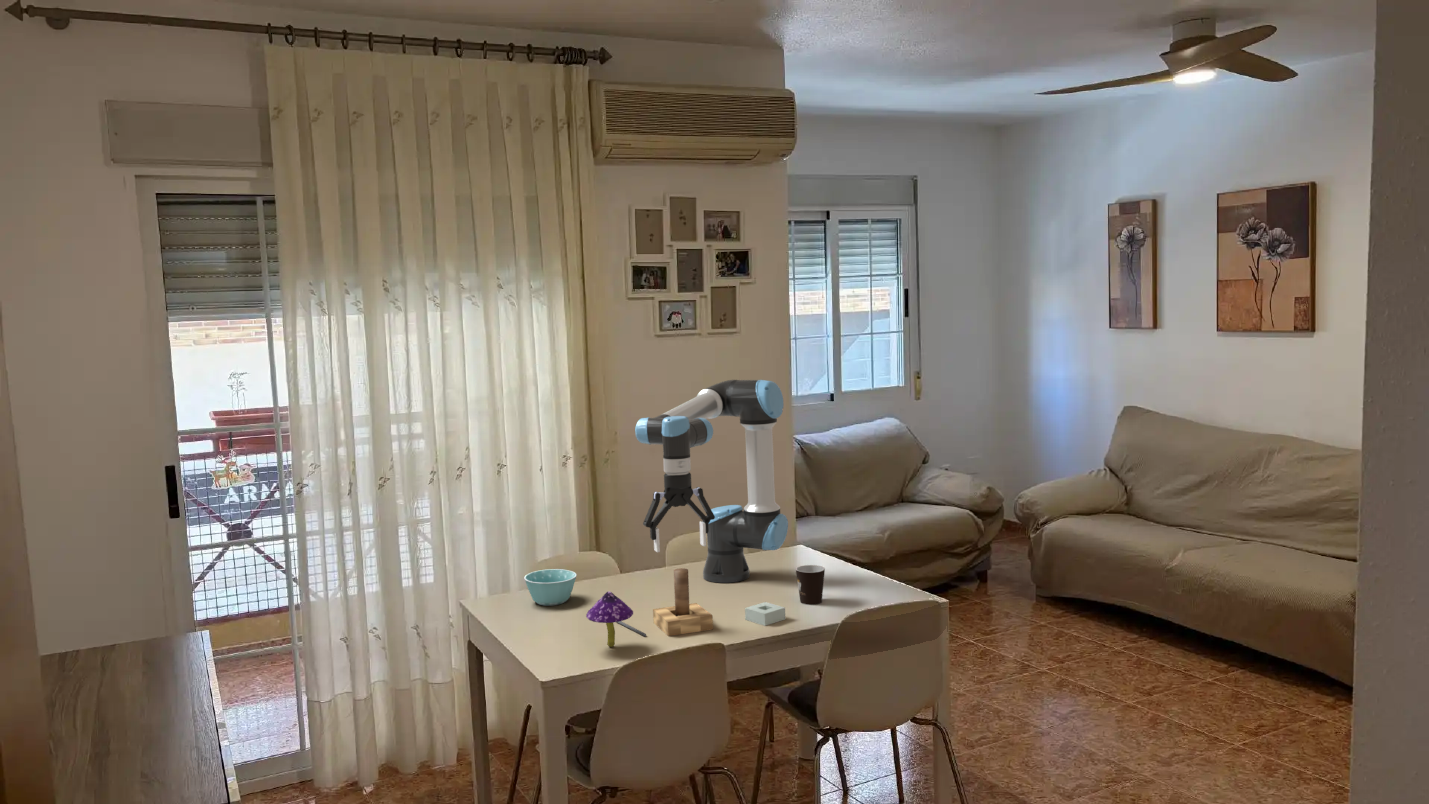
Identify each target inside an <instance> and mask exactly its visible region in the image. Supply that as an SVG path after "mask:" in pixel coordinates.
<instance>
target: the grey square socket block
mask: <svg viewBox="0 0 1429 804" xmlns="http://www.w3.org/2000/svg"><path fill="white" fill-rule="evenodd" d="M744 613H745V616H744V617H745V618H744V619H745V621H748V622H752V623H755V624H757V625H761V626H764V627H767V626H769V625H772V624H774V623H775V624H776V623H778V622H781V621H784V620H786V607H784V606H781V605H778V604H774V603H771V602H767V601H765V602H764V601H763V602H761V603H758V604H753V605H750V606H747V607H745V608H744Z"/></svg>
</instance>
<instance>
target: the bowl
mask: <svg viewBox="0 0 1429 804" xmlns="http://www.w3.org/2000/svg"><path fill="white" fill-rule="evenodd" d="M577 575H578V574H577V573H576V572H575V571H573V570H568V569H562V568H561V569H560V568H555V569H554V568H552V569H550V568H548V569H542V570H535V571H532V572H529V573H527V574H526V575H525V576H523V577H524V578H523V579H524V581H525V584H526V587H527V590H528V593H529V594H530V596H531V598H532V600H533V602H535V603H536V604H537V605H539V606H546V607H547V606H548V607H550V606H551V607H552V606H558V605H561V604H564V603H566V602H567V601H568V600H569V599H570V598H571V595H572V591H573V588H574V586H575V582H576V579H577Z"/></svg>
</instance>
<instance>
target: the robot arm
mask: <svg viewBox="0 0 1429 804" xmlns="http://www.w3.org/2000/svg"><path fill="white" fill-rule="evenodd" d="M783 396H784V395H783V393H782V390H781V388H780V386H779V385H778V384H777V383H776V382H775V381H773V380H764V379H729V380H724V381H721V382H719V383H714V384H713V385H710V386H708V387H706V388H703V389H702V390H700V391H699V392H698V393H697V395H696V396H695V397H693V398H691V399H690V400H687V401H685V402H683V403H681V404H680V405H677V406H675V407H673V408H672V409H669V410H668V411H665V412H664V413H661V414H660V415H657V416H655V417H641V418H639V420H637V422H636V425H635V428H634V429H635V431H634V433H635V438H636V439H637V441H638V442H639V443H641V444H645V445H646V444H647V445H662V453H663V455H662V456H663V457H662V458H663V459H662V460H663V472H664V475H663V486H664V487H663V488H664V490H663V491H662V492H658V491H653V493H652V494H653V495H652V500H651V503H650V505H649V509H648V510H647V513H646V515H645V518H644V519H643V523H642V525H643V526H644V527H646V528H648V529H649V533H650V539H651V540H652V541H653V549H654V552H656V553H660V552H661V545H660V542H661V541H660V528H658V525H659V524H660V523H661V522H662V520H663V519H664V517H665V516H666V514H667V513H668V512H669V510H671V508H672V507H674V508H676V507H685V506H686V505H687V506H689V508H691V511H693V512H694V513H695V514H696V515H697V517H699V519H700V521H699V543H700V544H699V545H701V546H702V547H707V556H706V559H705V563H704V566H703V570H702V577H703V580H705V581H707V582H712V583H720V584H725V583H726V584H729V583H737V582H742V581H745V580H747V579H749V578H750V576H751V575H750V567H749V565H748V562H747V559H746V556H745V554H744V548H745V549H753V550H761V551H777V550H778V549H780V548H781V547H782V546H783V544H784V543H785V540H786V537H787V535H788V534H787V533H788V530H789V521H788V517H787V516H786V515H785V514H784V513H781V506H780V505H779V504H778V503H777V502H776V490H775V463H774V439H773V438H774V437H773V435H774V434H773V428H774V427H775V425H776V424H777V423H778V418H780V417H781V415H782V414H783V409H784V397H783ZM718 417H737V418H738V417H739V424H740V426H742V428H744V434H745V438H744V439H745V458H746V461H745V462H746V463H745V464H746V479H747V480H746V481H747V482H746V483H747V504H746V505H745V506H744V507H743V506H742V505H740V504H730V505H723V506H717V507H714V508H711V507H710V505H709V504H708V501H707V500H706V498H705V495H704V489H703V488H702V487H699V486H696V488H693V487H692V473H691V472H690V471H692V469H691V468H692V467H691V462H692V461H691V448H695V447H698V446H703V445H705V444H706V443H708V442H710V441H711V440H712V438H713V434H714V427H713V425H712V423H711V422H710V421H709V420H711V419H715V418H718ZM708 419H709V420H708ZM693 495H695V496H696V497H697V500H698V501H699V503H700V505H701V507H702V508H703V511H704V512H705V514H706V515H705V514H704V512H703V511H702V510H701V509H700V508H699V507H698V506H697V505H696V504H695V503H694V501H693V500H692V499H691V498H692V497H693ZM663 498H664V499H665V501H664V502H663V503H662V506H661V507H660V509H659V510H658V512H657V509H658V507H659V506H660V505H659V504H660V502H661V501H662V500H663ZM656 512H657V513H656ZM701 520H702V521H701Z"/></svg>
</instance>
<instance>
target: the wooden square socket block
mask: <svg viewBox="0 0 1429 804" xmlns="http://www.w3.org/2000/svg"><path fill="white" fill-rule="evenodd" d="M689 608H690V614H689V615H682V616H675V605H673V606H667V607H659V608H653V609H652V616H653V617H652V618H653V624H654V625H655V626H656V627H658V628H659V629H660V630H661V631H662V632H663V633H664V634H665V635H667V636H668V637H672V636H678V635H684V634H691V633H697V632H698V633H699V632H704V631H710V630H713V629H714V623H713V622H714V621H713V620H714V619H713V614H711V613H710V612H709V611H707V610H706V609H705V608H704V607H703V606H701V605H699V604H698V603H697V602H694V603H693V602H692V603H689Z"/></svg>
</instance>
